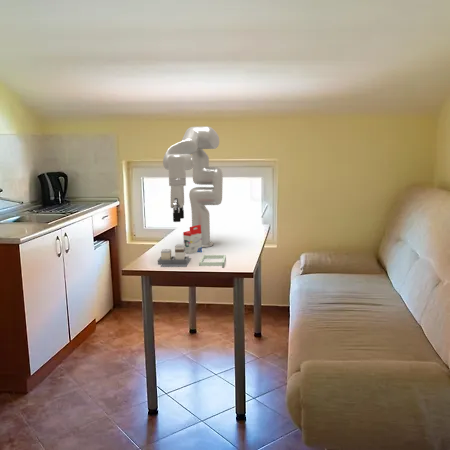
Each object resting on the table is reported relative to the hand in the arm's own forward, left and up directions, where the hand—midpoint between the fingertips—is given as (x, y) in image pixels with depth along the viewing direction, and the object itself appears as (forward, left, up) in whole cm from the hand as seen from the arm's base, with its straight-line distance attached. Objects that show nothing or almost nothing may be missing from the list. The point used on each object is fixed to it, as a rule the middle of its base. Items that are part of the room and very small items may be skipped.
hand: (178, 220), depth 225 cm
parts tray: (-1, +15, -21) cm, 26 cm away
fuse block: (0, -2, -21) cm, 21 cm away
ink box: (-21, +3, -21) cm, 30 cm away
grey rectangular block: (0, 0, -20) cm, 20 cm away
